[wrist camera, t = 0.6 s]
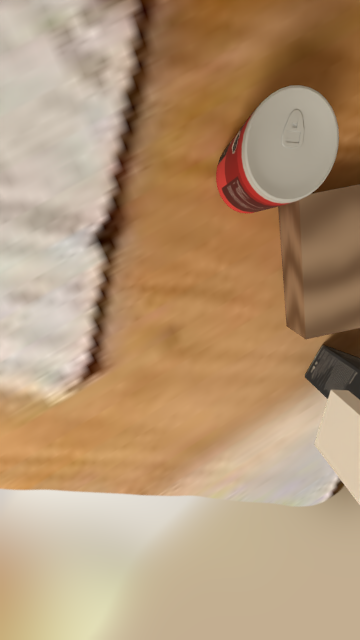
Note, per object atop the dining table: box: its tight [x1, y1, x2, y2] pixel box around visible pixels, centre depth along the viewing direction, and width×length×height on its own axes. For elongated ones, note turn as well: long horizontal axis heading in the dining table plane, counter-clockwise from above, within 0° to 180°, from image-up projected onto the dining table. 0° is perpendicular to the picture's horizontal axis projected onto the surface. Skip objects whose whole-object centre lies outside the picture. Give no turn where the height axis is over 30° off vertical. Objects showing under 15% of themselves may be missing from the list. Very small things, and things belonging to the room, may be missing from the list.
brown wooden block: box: [278, 184, 360, 339], centre depth 32 cm, size 16×16×5 cm
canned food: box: [216, 85, 339, 213], centre depth 26 cm, size 8×8×11 cm
